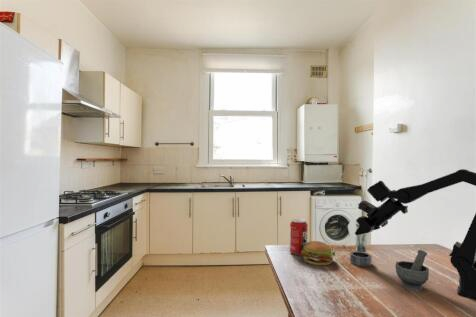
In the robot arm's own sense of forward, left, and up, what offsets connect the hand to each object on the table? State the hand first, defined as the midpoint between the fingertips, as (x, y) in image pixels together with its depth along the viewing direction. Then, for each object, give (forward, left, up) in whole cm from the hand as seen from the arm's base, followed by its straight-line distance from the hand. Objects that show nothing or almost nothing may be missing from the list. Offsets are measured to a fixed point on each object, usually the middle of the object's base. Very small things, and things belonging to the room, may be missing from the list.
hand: (357, 233), depth 115 cm
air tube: (0, -1, -7) cm, 7 cm away
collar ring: (0, -1, -12) cm, 12 cm away
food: (-10, +13, -12) cm, 20 cm away
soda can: (-7, +24, -12) cm, 28 cm away
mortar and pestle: (-10, -21, -12) cm, 27 cm away
